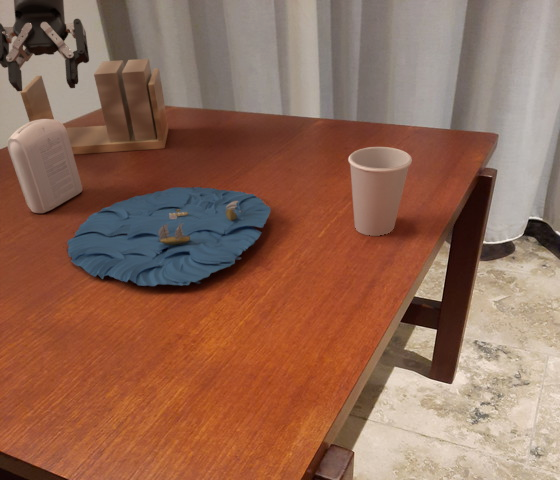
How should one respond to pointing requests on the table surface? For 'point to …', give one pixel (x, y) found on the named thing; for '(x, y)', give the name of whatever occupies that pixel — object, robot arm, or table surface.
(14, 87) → the robot arm
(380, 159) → the dixie cup
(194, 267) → the decorative plate
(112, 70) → the rack
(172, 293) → the table surface
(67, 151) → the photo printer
